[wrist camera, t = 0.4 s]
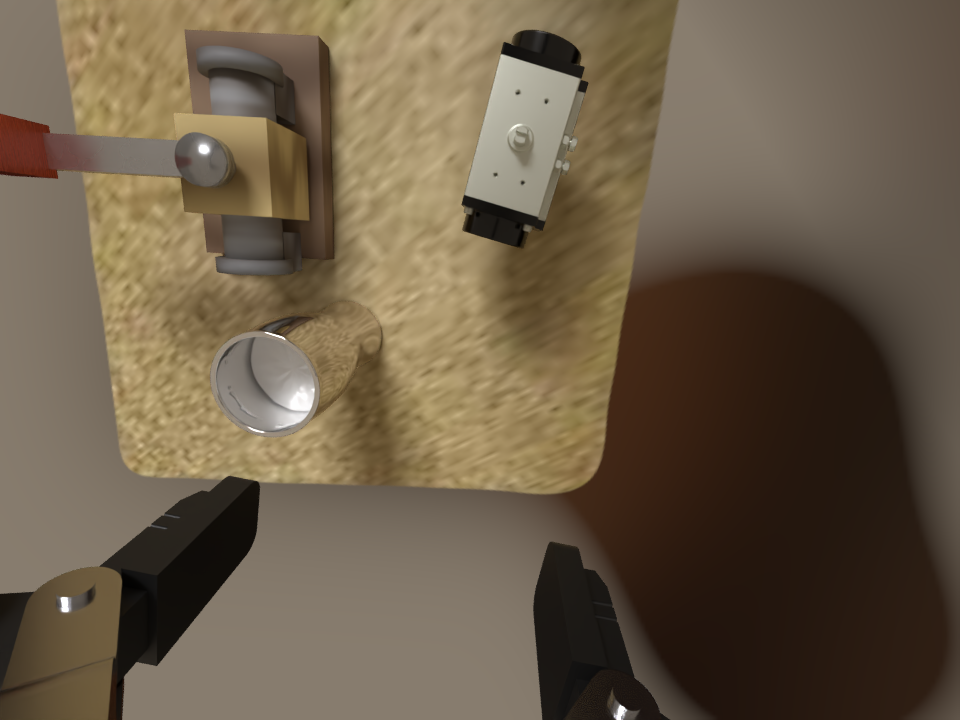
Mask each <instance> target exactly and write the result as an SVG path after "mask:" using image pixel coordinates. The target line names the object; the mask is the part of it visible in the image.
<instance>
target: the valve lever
mask: <svg viewBox="0 0 960 720" xmlns="http://www.w3.org/2000/svg"><path fill="white" fill-rule="evenodd" d="M57 171H68V172H86V173H103V174H121V175H138V176H156V177H173V178H185V179H186V180H187V181H188V182H190V183H192V184H194V185H197V186H202V187H207V188H221V187H224V186H226V185H227V184H228V183H229V182H230V181H231V180H232V178H233V176H234V173H235V160H234V157H233V154H232V152H231V150H230V149H229V147H228V146H227V145H226V144H225V143H224V142H222V141H221V140H219V139H217V138H214V137H211V136H209V135H206V134H203V133H199V132H192V133H188V134H186V135H184V136H183V137H181V139H180V140H162V139H143V138H125V137H106V136H88V135H69V134H51V133H50V131H49V126H47V125H43V124H39V123H35V122H31V121H27V120H23V119H19V118H15V117H11V116H7V115H3V114H0V175H8V176H20V177H37V178H56V179H58V175H57Z"/></svg>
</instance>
